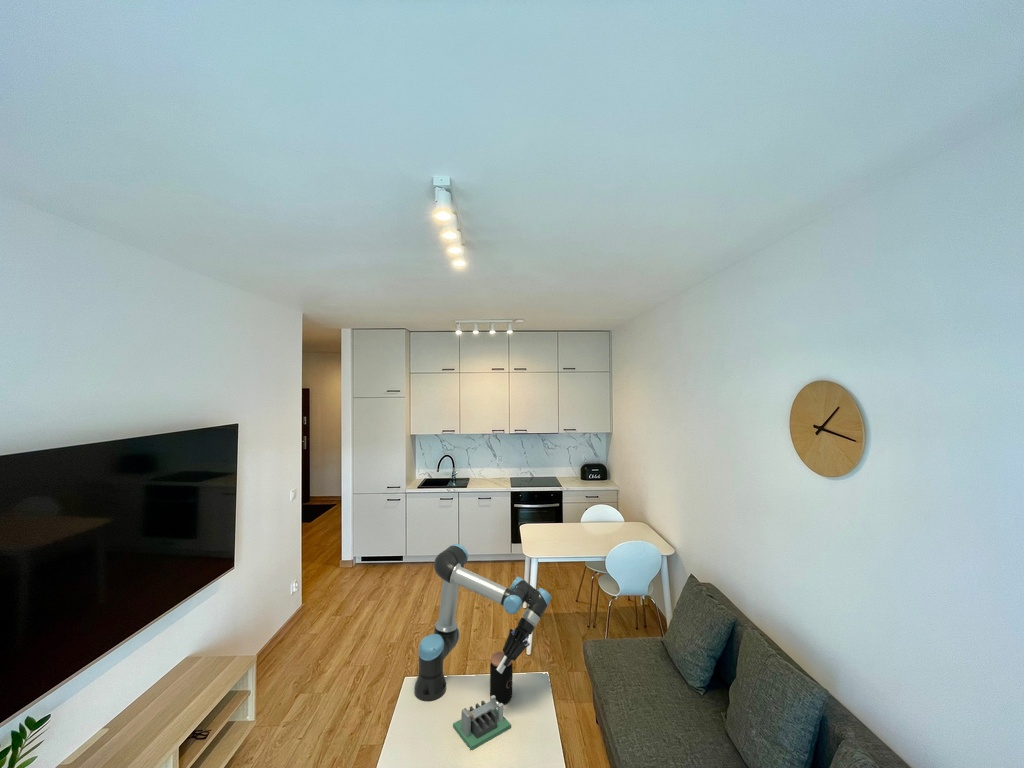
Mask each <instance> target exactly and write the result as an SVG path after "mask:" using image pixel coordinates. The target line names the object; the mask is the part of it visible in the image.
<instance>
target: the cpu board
mask: <svg viewBox="0 0 1024 768" xmlns="http://www.w3.org/2000/svg"><path fill="white" fill-rule="evenodd" d="M493 699H496V697H495V696H494V695H493V696H491V697H490V696H489V702H490V701H492V700H493ZM486 703H487V702H485V701H484V700H481V703H480V704H481V705H479V703H478V702H477V703H476V704H475V708H474V707H473V706H472V705H471V706H469V709H467V707H465V708H463V709H461V718H460V719H459V720H457V721H455V722H453V724H452V728H453V729H454V731H455V733H457V734H458V735H459V737H460V739H461V740H462V741H463V742H464V744H465V743H466V744H465V745H466V747H467V748H468V747H469V748H470V749H469V748H468V749H469V750H470V751H471V750H472V751H474V750H475V749H477V748H478V747H480V746H483V745H484V744H487V742H489V741H491V740H492V739H495V738H496V737H497V736H498V737H499V736H500V735H501V734H503V733H505V732H507V731H509V730H510V729H512V724H511V723H510V721H509V720H508V719H507V718H506V717H505V716H504V704H502V703H500V704H498V707H497V708H495V709H494V710H492V711H490V712H488V713H486V714H485V715H483V716H481V717H479V718H477V719H475V720H474V721H471V717H472V715H471V714H470V712H471V711H473V710H475V709H477V708H479V707H480V706H482V705H484V704H486ZM468 710H469V711H470V712H469V711H468Z"/></svg>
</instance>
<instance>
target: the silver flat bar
mask: <svg viewBox="0 0 1024 768" xmlns="http://www.w3.org/2000/svg"><path fill="white" fill-rule="evenodd" d="M485 703H486V704H484V705H482V706H481V705H480V707H479V708H477V709H476V708H474V709H475V710H473V711H471V712H470V709H467V710H468V711H469V712H470V714H471V715H472V717H471V721H474V720H475V719H477V718H479V717H481V716H483V715H485V714H486V713H488V712H490V711H492V710H494V709H495V708H496V709H498V704H500V703H499V702H498V701H497V700H496V699H493V700H492V701H490V700H489V701H488V702H485Z"/></svg>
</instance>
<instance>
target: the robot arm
mask: <svg viewBox="0 0 1024 768" xmlns="http://www.w3.org/2000/svg"><path fill="white" fill-rule="evenodd" d="M468 559H469V553H468V550H467V549H466V548H465V546H463V545H461V544H459V543H454V544H452V545H449V546H448V547H447V548H446V549H444V550H443V551H442V552H440V553H438V554H437V556H436V557H435V559H434V562H433V563H434V564H433V569H434V572H435V573H436V575H437V577H439V578H440V579H441V580H442V586H441V594H440V595H441V596H440V602H439V603H440V604H439V612H438V620H436V622H435V623H434V630H433V631H434V632H433V633H432V634H429V635H426V636H424V637H423V638H422V639H421V640H420V643H419V646H418V647H419V648H418V674H417V679H416V681H415V684H414V696H415V697H416V698H417V699H418V700H421V701H424V702H432V701H435V700H438V699H440V698H441V697H443V696H444V694H445V693H446V691H447V681H446V677H445V674H444V660H445V659H446V658H447V657H448V655H449V654H450V653H451V651H452V650H453V649H454V648H455V647H456V646H457V643H458V642H459V640H460V634H461V633H460V629H459V628H458V623H457V622H456V616H457V615H456V614H457V605H458V598H459V597H458V595H459V590H460V589H459V587H463V588H465V589H467V590H469V591H471V592H473V593H476V594H477V595H480V596H482V597H483V598H486V599H488V600H490V601H492V602H495V603H496V604H498V605H500V606H503V609H504V611H505V612H506V613H507V614H509V615H515V614H517V613H518V612H519V611H520V609H521V608H522V607H523V605H524V603H526V604H528V606H527V608H525V611H524V612H523V614H522V617H521V618H520V619H519V621H518V623H517V626H516V627H515V628H514V629H512V628H510V629H509V633H508V636H507V638H506V641H505V643H504V646H503V648H502V652H504V655H503V657H502V659H501V661H500V664H499V666H498V667H497V669H496V670H497V671H498V672H500V673H501V674H502V672H503V671H504V669H505V667H507V666H508V664H509V662H510V661H511V660H513V661H516V660H517V659H518V658H519V657H520V655H521V654H522V653H524V651H525V650H526V648H528V647H529V646H530V645H531V643H530V642H529V636H530V635H532V634H533V631H534V630H535V627H536V626H537V625H538V623H539V622H540V620H541V618H542V617H543V614H544V613H545V612H546V610H547V608H548V606H549V605H550V602H551V600H552V595H551V594H550V593H549V592H548V591H547V590H546V589H544V588H542V587H539V588H538V589H536V588H535V587H534V586H532V585H531V584H530V583H529V582H527V581H526V580H525V579H523V578H522V577H520V576H516V577H515V579H514V580H513V581H512V583H511V584H510V587H509V588H508V587H506V586H503V585H502V584H499V583H497V582H494V581H492V580H491V579H489V578H486V577H484V576H482V575H481V574H480V575H479V574H478V573H475V572H474V571H471V570H469V569H466V568H465V565H466V563H467V562H468Z"/></svg>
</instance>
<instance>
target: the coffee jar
mask: <svg viewBox="0 0 1024 768" xmlns="http://www.w3.org/2000/svg"><path fill="white" fill-rule="evenodd" d="M503 655H504V652H503V651H498V652H494V653H493V654H492V655H491V656H490V665H489V667H490V668H489V669H490V670H489V673H490V674H489V698H490V697H491V696H493V695H494V696H495V697H496V700H497V701H498V702H499V703H502V704H503V705H506V704H508V703H510V702H511V700H512V698H513V672H514V671H513V670H514V669H513V667H514V666H513V661H514V660H511V661H510V662H509V664H508V666H507V667H505V669H504V671H503V672H502V674H501V673H500V672H498V671H497V670H496V669H497V667H498V666H499V664H500V661H501V659H502V657H503Z"/></svg>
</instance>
